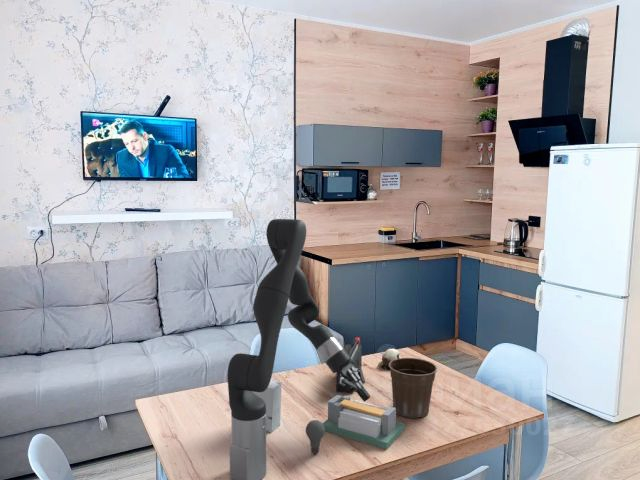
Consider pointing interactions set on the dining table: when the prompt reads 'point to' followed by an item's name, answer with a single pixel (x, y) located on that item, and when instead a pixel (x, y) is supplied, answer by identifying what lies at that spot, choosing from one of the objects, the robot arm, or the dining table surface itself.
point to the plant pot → (412, 386)
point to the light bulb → (315, 434)
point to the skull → (389, 358)
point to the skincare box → (272, 404)
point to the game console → (356, 359)
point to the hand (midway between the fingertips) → (367, 399)
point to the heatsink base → (363, 423)
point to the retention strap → (362, 408)
